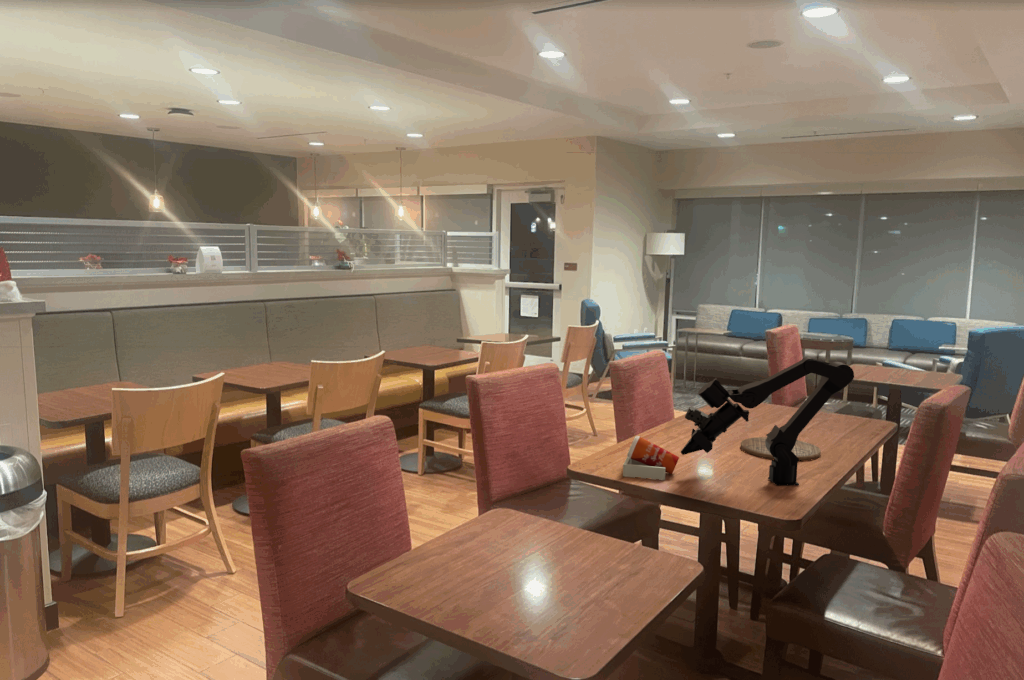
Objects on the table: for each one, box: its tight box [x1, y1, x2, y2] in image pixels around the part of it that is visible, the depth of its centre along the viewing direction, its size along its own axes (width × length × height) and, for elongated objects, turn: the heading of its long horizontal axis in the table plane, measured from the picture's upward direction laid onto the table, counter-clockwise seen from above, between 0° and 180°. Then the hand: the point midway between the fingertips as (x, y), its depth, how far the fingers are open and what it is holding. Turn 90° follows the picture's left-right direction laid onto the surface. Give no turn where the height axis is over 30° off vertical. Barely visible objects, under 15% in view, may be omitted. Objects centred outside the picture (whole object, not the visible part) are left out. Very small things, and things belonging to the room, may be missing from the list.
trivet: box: [740, 436, 822, 462], centre depth 235 cm, size 25×25×2 cm
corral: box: [622, 456, 666, 481], centre depth 209 cm, size 12×13×4 cm
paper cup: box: [626, 435, 680, 475], centre depth 209 cm, size 8×8×14 cm
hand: (681, 453), depth 206 cm, fingers closed
